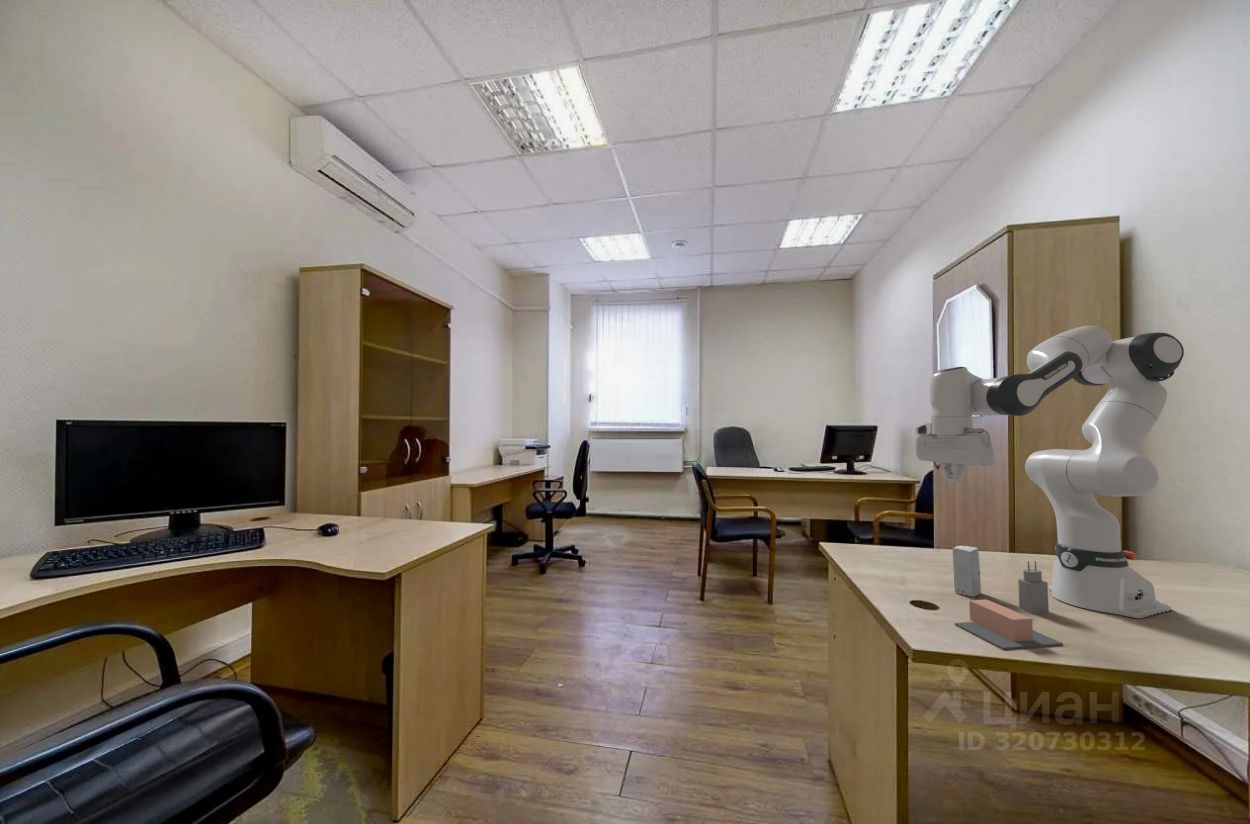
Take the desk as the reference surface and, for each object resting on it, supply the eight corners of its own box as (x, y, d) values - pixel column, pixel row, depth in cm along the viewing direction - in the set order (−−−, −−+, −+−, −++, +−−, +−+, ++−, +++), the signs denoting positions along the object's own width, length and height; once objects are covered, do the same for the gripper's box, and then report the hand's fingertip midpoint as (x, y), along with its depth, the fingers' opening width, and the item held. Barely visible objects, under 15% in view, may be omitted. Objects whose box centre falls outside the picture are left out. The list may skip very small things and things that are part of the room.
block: (986, 599, 99) (1032, 618, 90) (987, 619, 99) (1033, 640, 89) (969, 600, 99) (1013, 619, 89) (970, 620, 99) (1014, 641, 89)
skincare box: (973, 598, 112) (971, 551, 113) (953, 592, 116) (951, 547, 117) (982, 592, 116) (980, 547, 116) (962, 587, 120) (960, 544, 120)
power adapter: (1017, 608, 106) (1015, 559, 107) (1037, 607, 107) (1035, 558, 107) (1030, 613, 103) (1028, 563, 103) (1050, 612, 104) (1048, 562, 104)
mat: (1009, 621, 99) (1009, 619, 99) (1062, 645, 88) (1062, 643, 88) (954, 624, 97) (954, 623, 97) (1002, 649, 86) (1002, 647, 86)
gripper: (1000, 428, 103) (1002, 485, 102) (930, 428, 123) (932, 476, 123) (977, 428, 102) (979, 486, 102) (910, 428, 123) (912, 476, 122)
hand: (953, 480), depth 112 cm, fingers closed
